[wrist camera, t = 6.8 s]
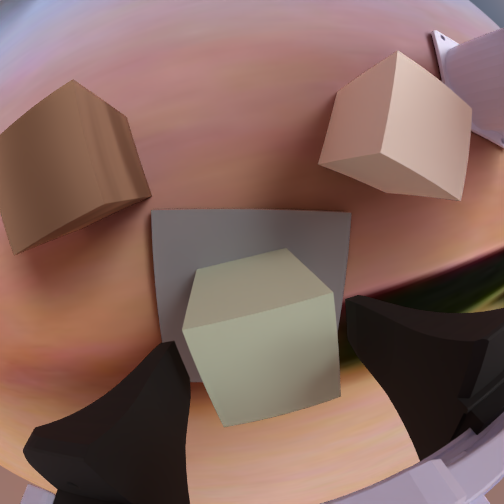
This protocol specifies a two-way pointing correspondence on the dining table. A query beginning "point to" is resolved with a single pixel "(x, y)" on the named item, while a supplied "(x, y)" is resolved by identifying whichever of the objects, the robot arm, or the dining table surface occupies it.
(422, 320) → the robot arm
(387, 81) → the cream block
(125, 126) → the walnut block
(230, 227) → the coaster
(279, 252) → the green block
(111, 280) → the dining table surface
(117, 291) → the dining table surface
